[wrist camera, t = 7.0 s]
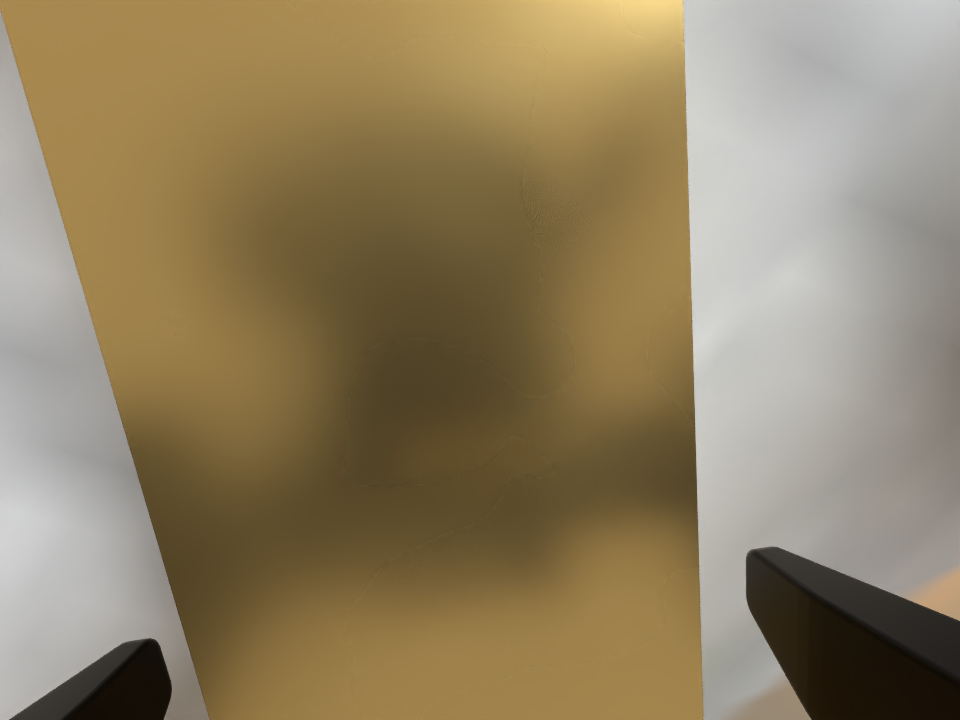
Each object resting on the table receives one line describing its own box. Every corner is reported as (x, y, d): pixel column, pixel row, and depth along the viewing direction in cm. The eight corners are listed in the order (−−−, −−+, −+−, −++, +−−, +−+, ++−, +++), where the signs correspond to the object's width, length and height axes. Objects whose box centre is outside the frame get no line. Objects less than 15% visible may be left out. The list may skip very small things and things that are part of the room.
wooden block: (558, -291, 8) (872, -1758, 2) (623, 652, 12) (796, 1058, 6) (134, -252, 8) (-822, -1744, 2) (342, 694, 12) (239, 1157, 6)
